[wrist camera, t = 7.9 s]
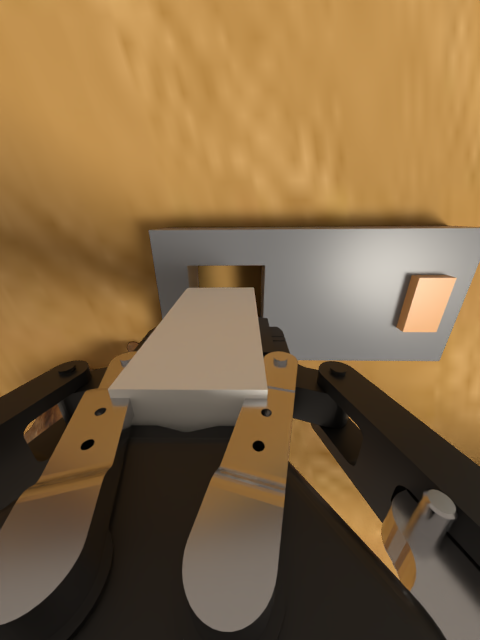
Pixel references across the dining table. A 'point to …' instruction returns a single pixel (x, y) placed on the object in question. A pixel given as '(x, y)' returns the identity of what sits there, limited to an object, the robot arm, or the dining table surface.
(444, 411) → the dining table surface
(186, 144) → the dining table surface
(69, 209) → the dining table surface
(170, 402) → the white rectangular block
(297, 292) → the grey board with slot
